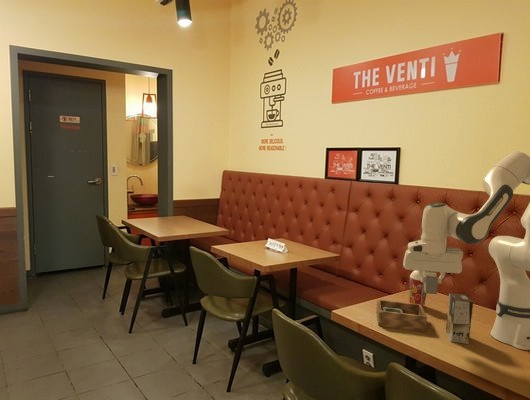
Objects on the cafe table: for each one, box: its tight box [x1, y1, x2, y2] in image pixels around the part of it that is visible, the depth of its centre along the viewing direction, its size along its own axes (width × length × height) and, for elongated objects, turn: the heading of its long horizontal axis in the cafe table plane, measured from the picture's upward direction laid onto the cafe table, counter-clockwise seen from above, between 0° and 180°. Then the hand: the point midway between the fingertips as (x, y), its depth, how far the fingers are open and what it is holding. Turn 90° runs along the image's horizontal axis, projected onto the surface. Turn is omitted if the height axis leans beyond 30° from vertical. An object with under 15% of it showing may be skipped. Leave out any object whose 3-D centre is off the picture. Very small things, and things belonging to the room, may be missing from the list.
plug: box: [424, 271, 439, 295], centre depth 149 cm, size 4×4×8 cm
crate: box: [375, 299, 428, 332], centre depth 164 cm, size 18×14×6 cm
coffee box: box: [445, 292, 474, 345], centre depth 151 cm, size 9×6×16 cm
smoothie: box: [408, 270, 427, 308], centre depth 183 cm, size 8×8×20 cm
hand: (430, 282), depth 149 cm, fingers closed on plug, 4 cm apart
